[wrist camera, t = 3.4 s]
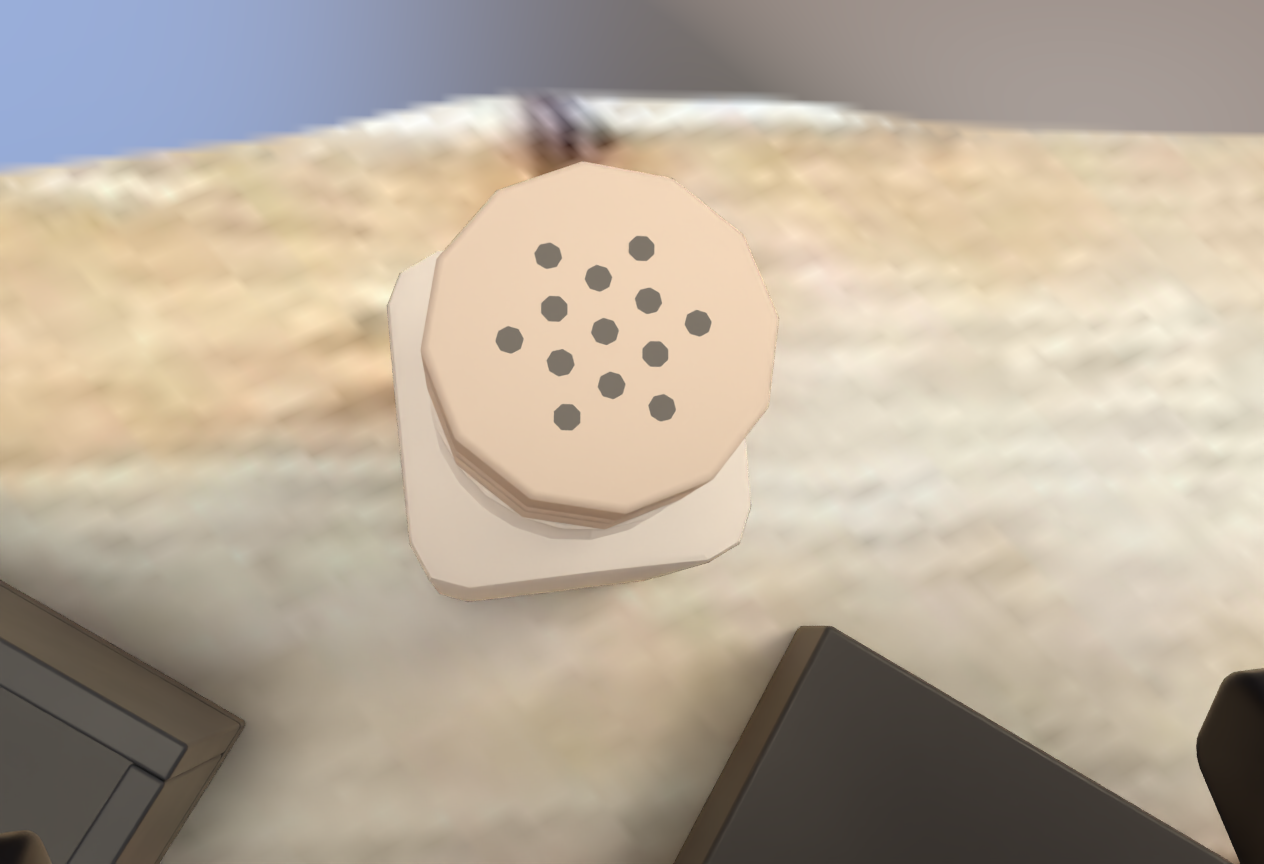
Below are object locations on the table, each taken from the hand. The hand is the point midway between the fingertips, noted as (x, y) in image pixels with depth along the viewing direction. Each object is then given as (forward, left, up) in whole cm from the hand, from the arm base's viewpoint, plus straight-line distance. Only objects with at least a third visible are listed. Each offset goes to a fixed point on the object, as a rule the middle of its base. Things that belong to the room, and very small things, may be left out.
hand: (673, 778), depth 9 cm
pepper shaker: (+3, +2, -11) cm, 11 cm away
